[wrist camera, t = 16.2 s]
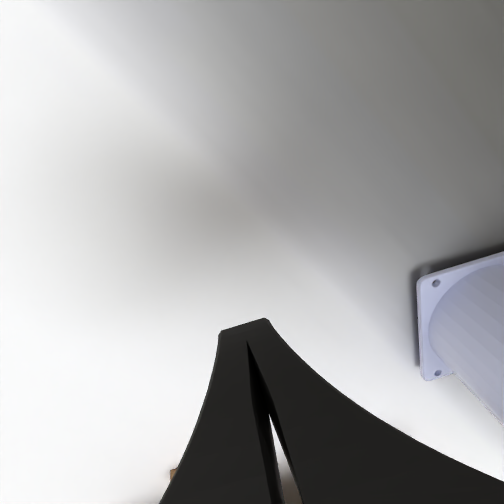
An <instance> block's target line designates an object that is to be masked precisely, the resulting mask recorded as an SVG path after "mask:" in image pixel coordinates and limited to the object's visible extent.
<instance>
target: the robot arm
mask: <svg viewBox="0 0 504 504" xmlns="http://www.w3.org/2000/svg"><path fill="white" fill-rule="evenodd" d="M434 280H436V281H435V282H434V283H433V284H432V282H433V281H434ZM416 286H417V308H418V329H419V351H420V373H421V376H422V377H423V379H424V380H426V381H430V380H434V379H437V378H440V377H443V376H446V375H449V374H452V373H454V374H455V375H456V376H457V377H458V378H459V379H460V380H461V381H462V382H463V383H464V385H465V386H466V387H467V388H468V389H469V390H470V391H471V392H472V393H473V394H474V395H475V396H476V397H477V399H478V400H479V401H480V402H481V403H482V404H483V405H484V406H485V407H486V408H487V409H488V410H489V411H490V413H491V414H492V415H493V416H494V417H495V418H496V419H497V420H498V421H499V422H500V423H501V424H502V425H503V427H504V251H503V252H500V253H497V254H493V255H490V256H487V257H484V258H480V259H477V260H474V261H470V262H467V263H464V264H461V265H457V266H454V267H451V268H447V269H444V270H441V271H438V272H434V273H431V274H428V275H424V276H422V277H421V278H420V279H419V280H418V281H417V285H416ZM269 415H270V417H271V420H272V423H273V425H274V428H275V430H276V433H277V436H278V438H279V441H280V443H281V446H282V449H283V451H284V454H285V456H286V459H287V462H288V464H289V467H290V469H291V472H292V475H293V477H294V480H295V482H296V485H297V488H298V490H299V493H300V496H301V499H302V502H303V504H504V482H503V481H501V480H499V479H496V478H494V477H492V476H490V475H487V474H485V473H483V472H480V471H478V470H476V469H474V468H471V467H469V466H467V465H465V464H463V463H461V462H459V461H456V460H454V459H452V458H450V457H448V456H446V455H444V454H442V453H440V452H438V451H436V450H434V449H432V448H430V447H428V446H426V445H424V444H423V443H421V442H419V441H417V440H415V439H413V438H412V437H410V436H408V435H406V434H405V433H403V432H401V431H400V430H398V429H396V428H394V427H393V426H391V425H389V424H388V423H386V422H384V421H382V420H381V419H379V418H377V417H376V416H374V415H373V414H371V413H370V412H368V411H367V410H365V409H364V408H362V407H361V406H359V405H358V404H356V403H355V402H354V401H352V400H351V399H349V398H348V397H347V396H345V395H344V394H342V393H341V392H340V391H339V390H337V389H336V388H335V387H333V386H332V385H331V384H330V383H328V382H327V381H326V380H325V379H324V378H322V377H321V376H320V375H319V374H318V373H317V372H315V371H314V370H313V369H312V368H311V367H310V366H309V365H308V364H307V363H306V362H305V361H304V360H302V359H301V358H300V357H299V356H298V355H297V354H296V353H295V352H294V351H293V350H292V349H291V348H290V347H289V345H288V344H287V343H286V342H285V341H284V340H283V339H282V338H281V336H280V335H279V334H278V333H277V331H276V330H275V329H274V327H273V326H272V325H271V323H270V321H269V320H268V319H266V318H261V319H258V320H255V321H252V322H248V323H245V324H242V325H238V326H235V327H232V328H228V329H225V330H222V331H221V332H220V334H219V335H218V346H217V352H216V358H215V362H214V367H213V371H212V375H211V379H210V382H209V386H208V390H207V393H206V396H205V399H204V402H203V405H202V408H201V411H200V414H199V417H198V420H197V423H196V426H195V428H194V431H193V433H192V436H191V438H190V441H189V443H188V445H187V448H186V450H185V452H184V455H183V457H182V459H181V461H180V463H179V465H178V467H177V469H176V471H175V473H174V475H173V478H172V480H171V482H170V484H169V486H168V488H167V490H166V492H165V493H164V495H163V497H162V499H161V501H160V503H159V504H285V502H284V497H283V492H282V486H281V481H280V475H279V469H278V463H277V458H276V452H275V446H274V440H273V435H272V429H271V423H270V418H269Z"/></svg>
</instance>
